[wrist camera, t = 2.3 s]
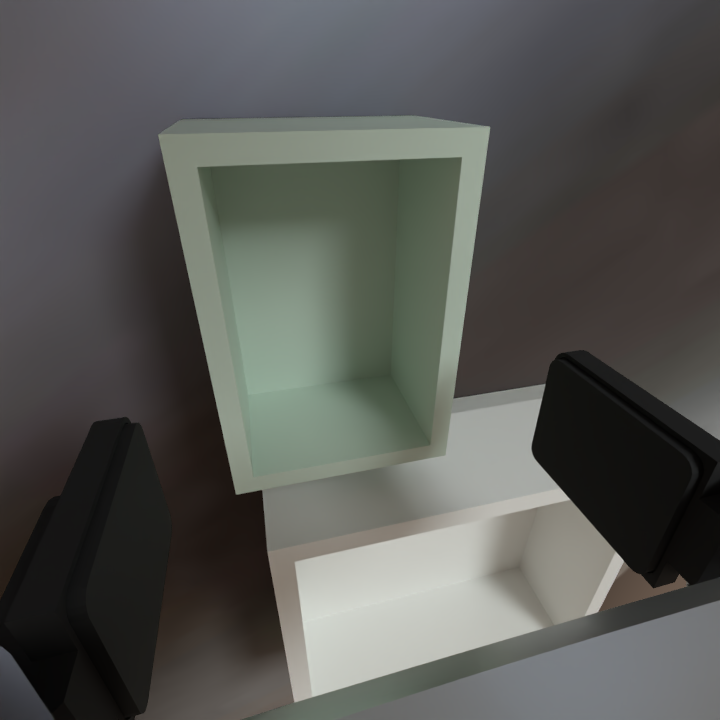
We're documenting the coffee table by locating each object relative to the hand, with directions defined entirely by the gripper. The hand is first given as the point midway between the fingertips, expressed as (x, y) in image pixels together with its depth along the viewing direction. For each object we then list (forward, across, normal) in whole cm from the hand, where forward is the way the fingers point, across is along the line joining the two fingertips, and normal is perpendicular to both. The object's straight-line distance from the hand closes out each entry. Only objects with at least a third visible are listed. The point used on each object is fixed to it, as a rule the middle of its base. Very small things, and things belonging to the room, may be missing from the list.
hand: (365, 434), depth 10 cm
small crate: (+8, 0, -1) cm, 8 cm away
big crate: (+8, -5, +13) cm, 16 cm away
